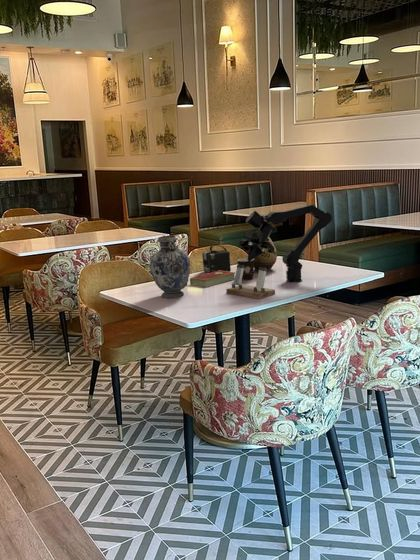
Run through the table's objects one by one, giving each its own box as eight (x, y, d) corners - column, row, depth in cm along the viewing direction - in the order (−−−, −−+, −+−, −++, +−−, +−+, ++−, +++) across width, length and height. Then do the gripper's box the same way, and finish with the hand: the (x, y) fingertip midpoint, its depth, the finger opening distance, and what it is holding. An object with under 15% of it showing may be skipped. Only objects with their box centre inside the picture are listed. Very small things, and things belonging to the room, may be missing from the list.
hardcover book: (190, 285, 271) (189, 277, 270) (219, 277, 285) (219, 269, 284) (206, 287, 262) (205, 279, 261) (235, 279, 276) (235, 271, 275)
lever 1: (236, 284, 248) (239, 265, 248) (240, 285, 246) (244, 265, 246) (233, 284, 247) (237, 264, 247) (238, 285, 244) (242, 265, 245)
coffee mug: (236, 280, 273) (235, 261, 270) (241, 276, 280) (240, 258, 278) (257, 280, 268) (256, 261, 266) (262, 277, 276) (261, 258, 274)
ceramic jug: (279, 271, 286) (276, 216, 280) (250, 273, 287) (247, 218, 281) (275, 266, 303) (273, 213, 297) (248, 267, 303) (245, 215, 297)
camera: (201, 271, 302) (199, 245, 299) (223, 268, 308) (221, 242, 305) (209, 274, 293) (207, 247, 290) (231, 270, 298) (230, 244, 295)
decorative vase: (198, 297, 242) (192, 236, 236) (158, 303, 237) (151, 241, 232) (186, 288, 262) (181, 232, 257) (149, 293, 258) (143, 236, 252)
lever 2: (258, 288, 238) (261, 267, 238) (263, 289, 235) (267, 268, 236) (255, 287, 236) (259, 267, 237) (260, 288, 234) (264, 267, 234)
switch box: (243, 288, 254) (242, 280, 253) (275, 293, 239) (274, 285, 238) (226, 293, 246) (226, 285, 246) (258, 299, 232) (257, 290, 231)
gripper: (240, 223, 256) (225, 249, 252) (269, 224, 243) (254, 251, 238) (252, 237, 263) (238, 262, 258) (281, 239, 249) (266, 266, 244)
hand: (248, 260), depth 249 cm, fingers closed
